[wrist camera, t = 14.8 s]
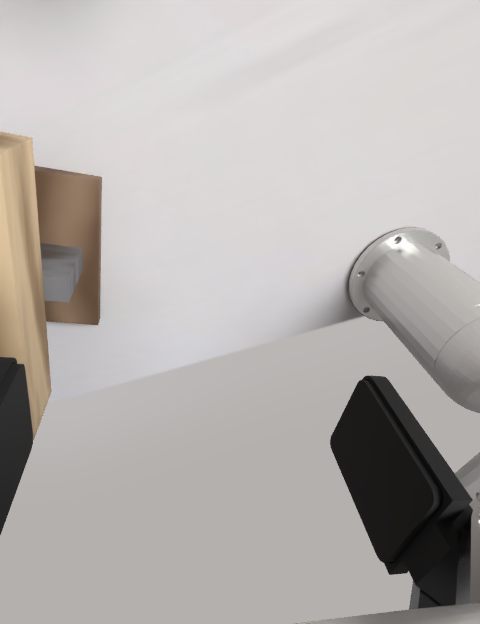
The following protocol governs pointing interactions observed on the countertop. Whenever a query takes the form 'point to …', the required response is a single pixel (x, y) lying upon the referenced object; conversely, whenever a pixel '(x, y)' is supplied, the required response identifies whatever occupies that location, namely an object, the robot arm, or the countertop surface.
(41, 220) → the walnut stand
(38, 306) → the oak beam
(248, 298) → the countertop surface
